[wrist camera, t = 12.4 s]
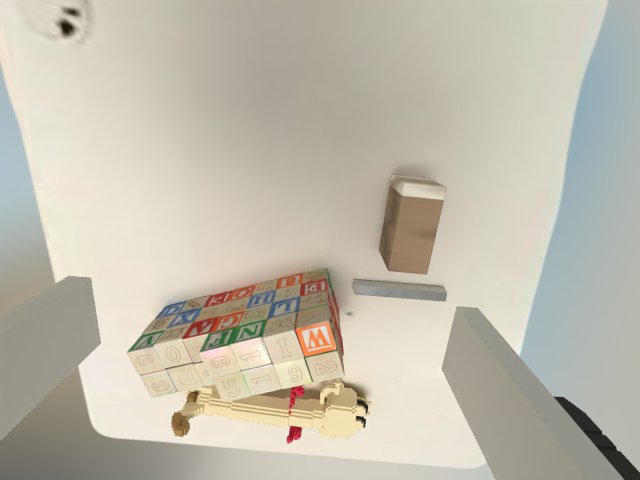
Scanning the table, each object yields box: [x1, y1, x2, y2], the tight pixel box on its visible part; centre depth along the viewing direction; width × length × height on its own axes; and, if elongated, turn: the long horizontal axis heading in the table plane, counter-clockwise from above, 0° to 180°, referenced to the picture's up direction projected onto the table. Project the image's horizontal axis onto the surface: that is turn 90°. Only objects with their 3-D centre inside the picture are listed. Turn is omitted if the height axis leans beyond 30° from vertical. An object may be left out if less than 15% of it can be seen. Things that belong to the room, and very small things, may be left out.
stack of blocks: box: [127, 268, 345, 402], centre depth 37 cm, size 21×6×12 cm, turn 105°
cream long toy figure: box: [171, 378, 371, 443], centre depth 43 cm, size 10×9×25 cm
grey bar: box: [353, 279, 447, 301], centre depth 40 cm, size 1×11×2 cm, turn 85°
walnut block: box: [379, 174, 447, 275], centre depth 35 cm, size 6×4×9 cm
